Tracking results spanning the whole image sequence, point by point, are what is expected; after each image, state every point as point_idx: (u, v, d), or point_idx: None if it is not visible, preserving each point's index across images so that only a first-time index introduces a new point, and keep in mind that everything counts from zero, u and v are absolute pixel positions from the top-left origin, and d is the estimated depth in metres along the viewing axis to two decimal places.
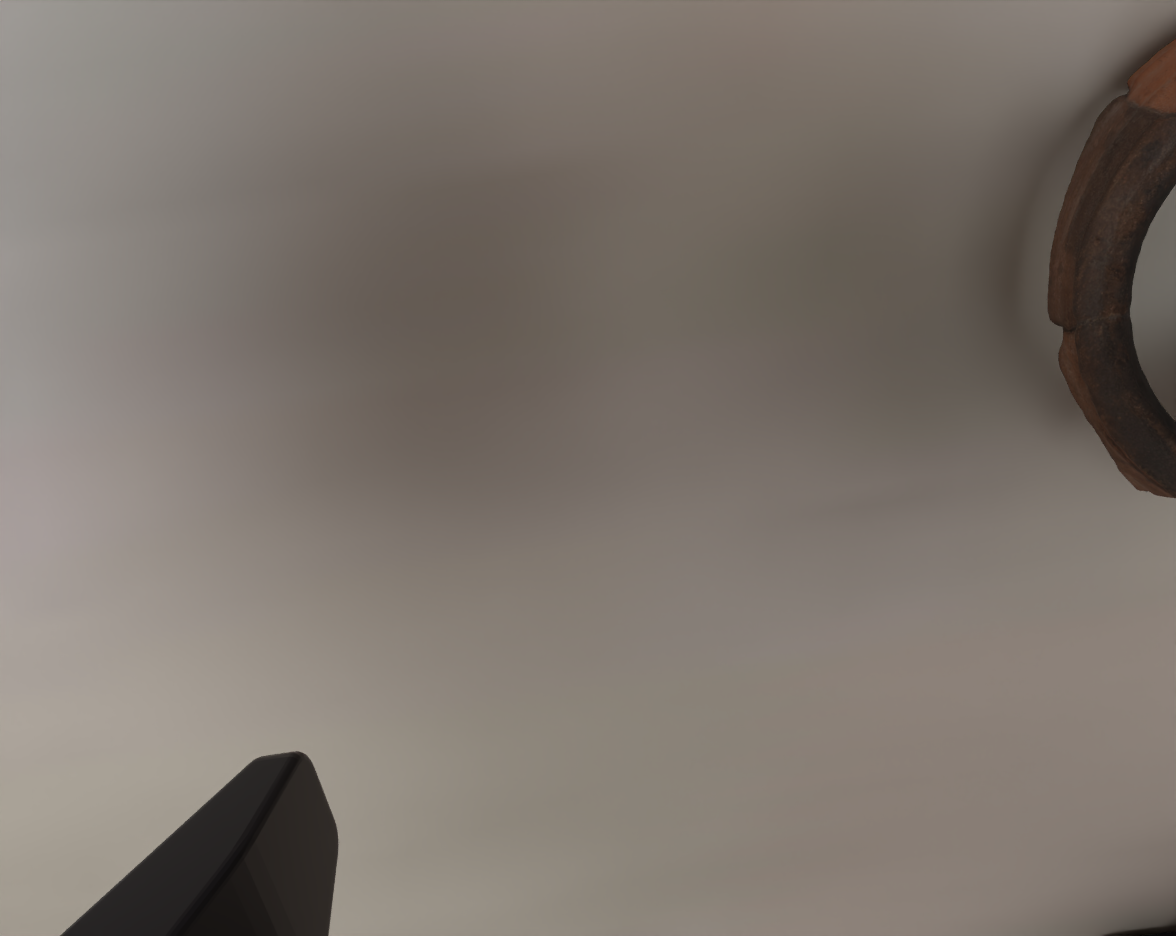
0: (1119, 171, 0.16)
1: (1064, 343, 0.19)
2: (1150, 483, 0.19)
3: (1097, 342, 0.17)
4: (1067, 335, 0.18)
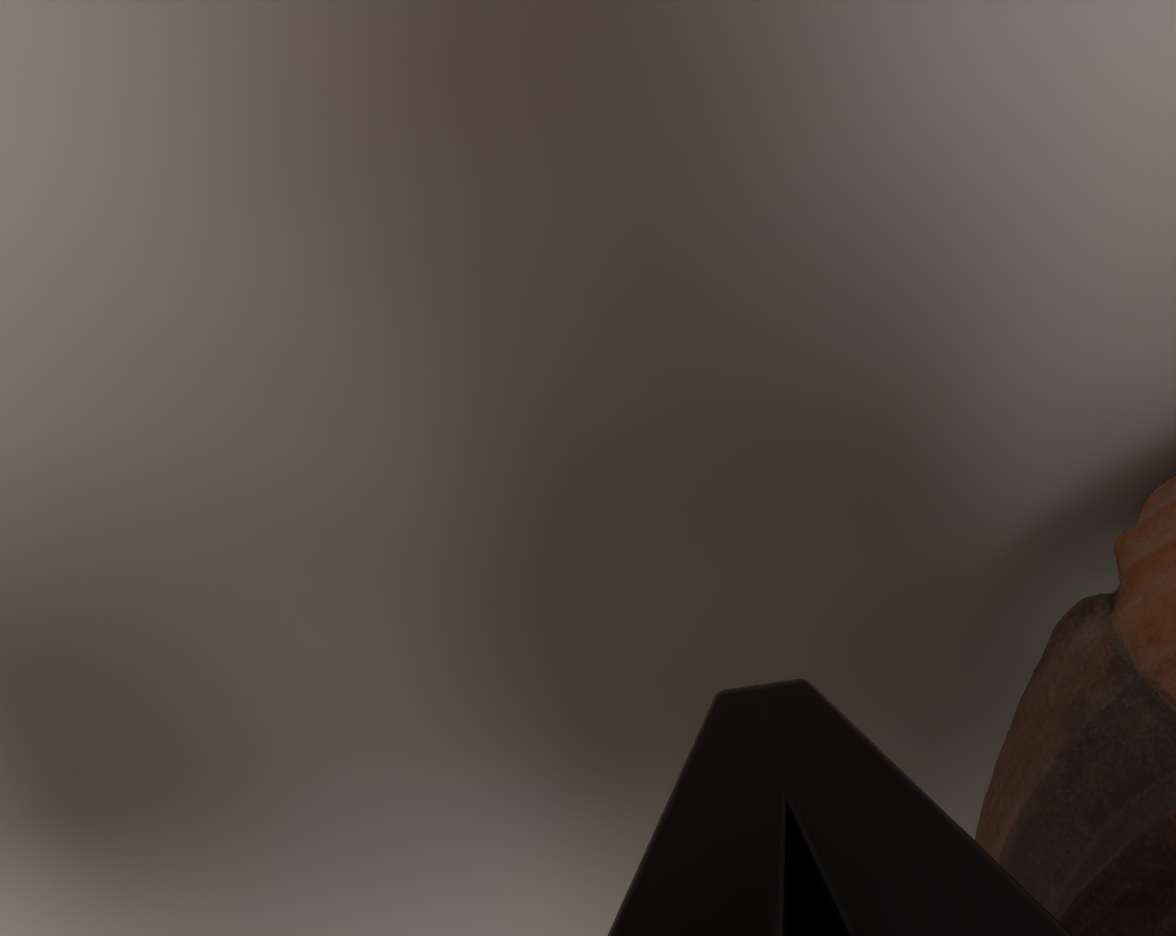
0: (1094, 905, 0.07)
1: None
2: None
3: None
4: None
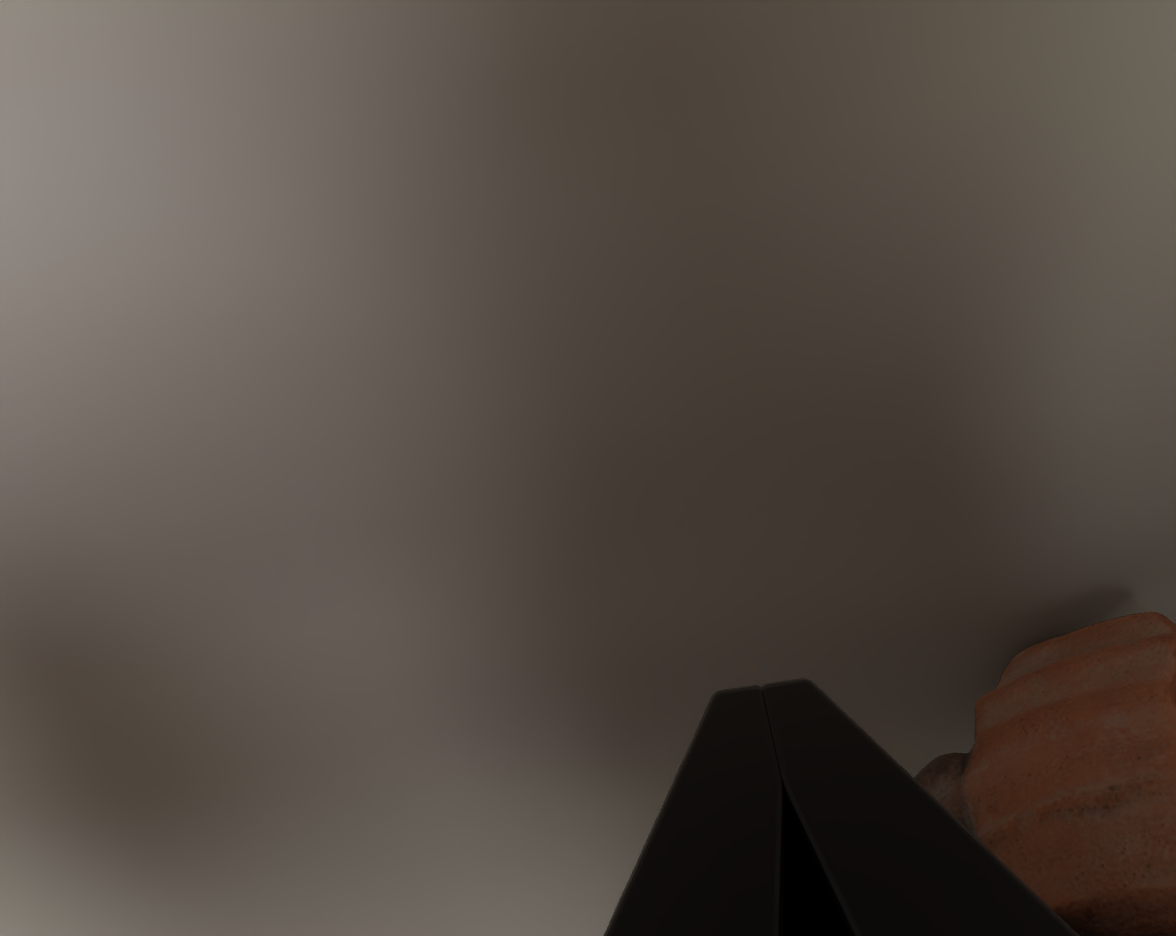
0: None
1: None
2: None
3: None
4: None
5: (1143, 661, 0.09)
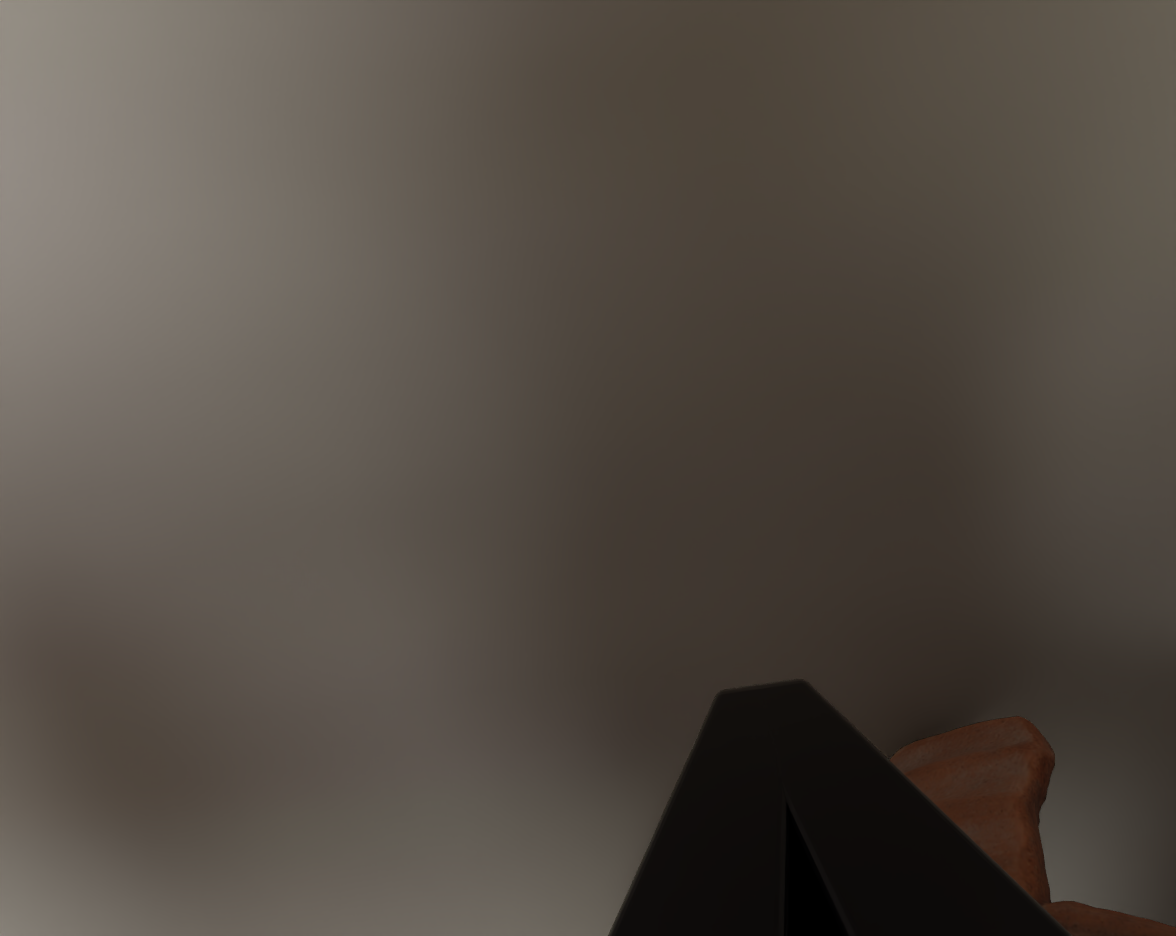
0: None
1: None
2: None
3: None
4: None
5: (1001, 770, 0.10)
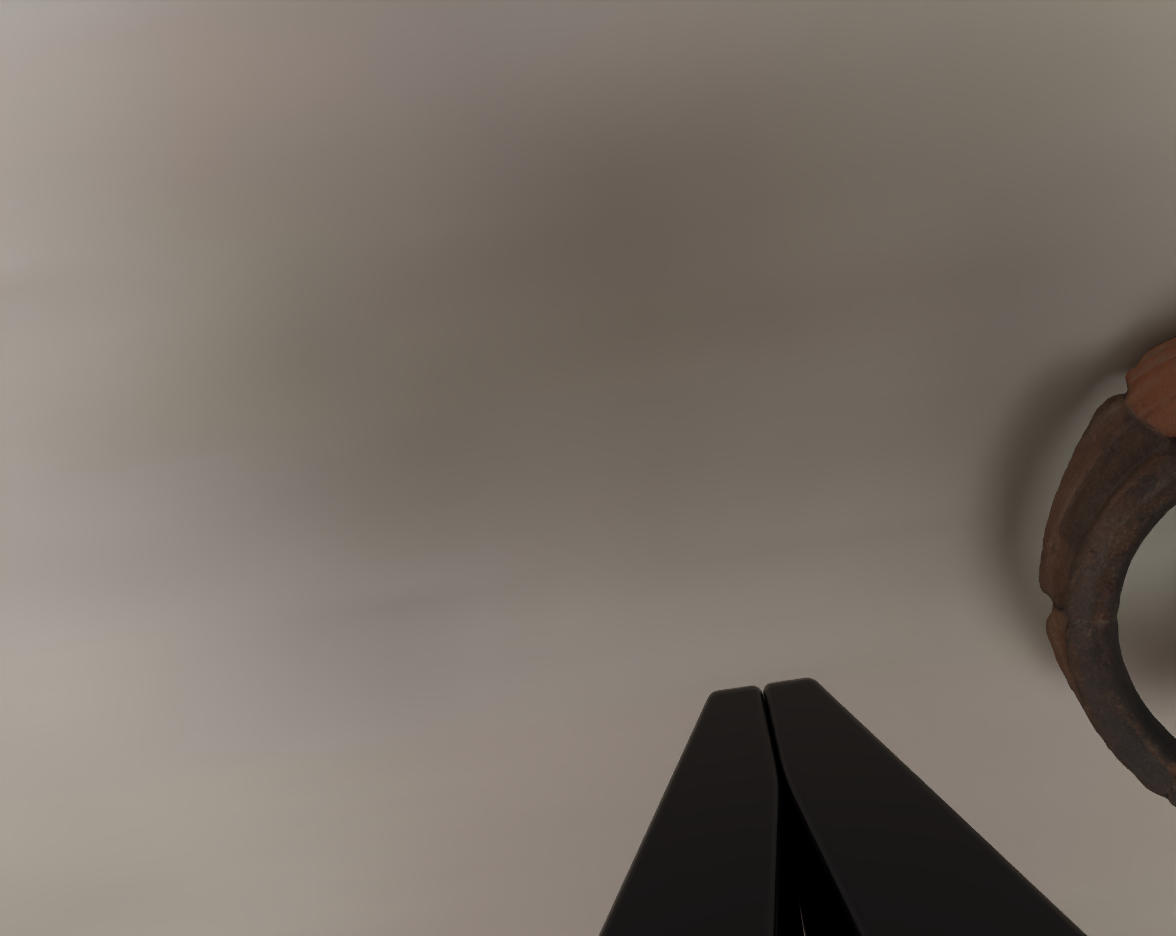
0: (1116, 495, 0.17)
1: (1052, 616, 0.20)
2: None
3: (1085, 642, 0.18)
4: (1056, 611, 0.20)
5: None
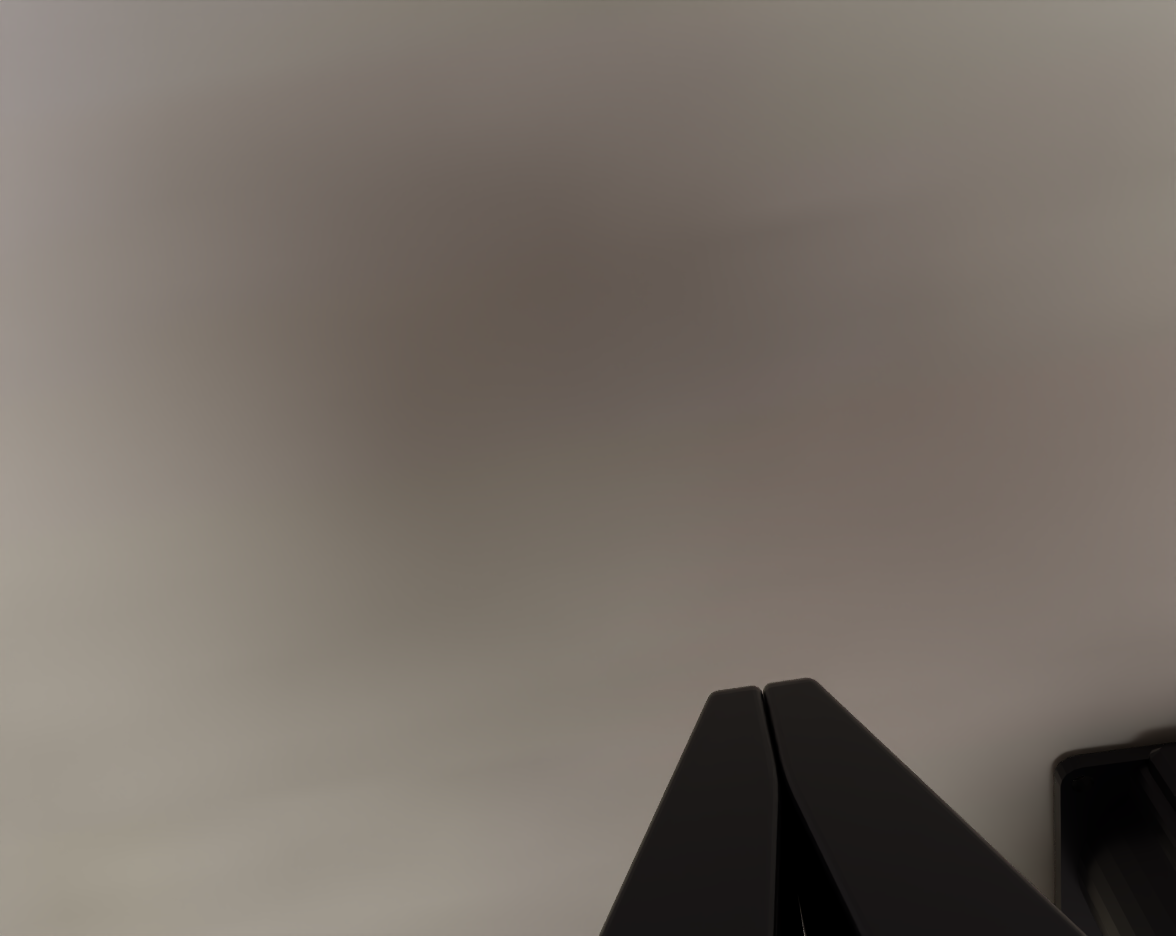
0: None
1: None
2: None
3: None
4: None
5: None
